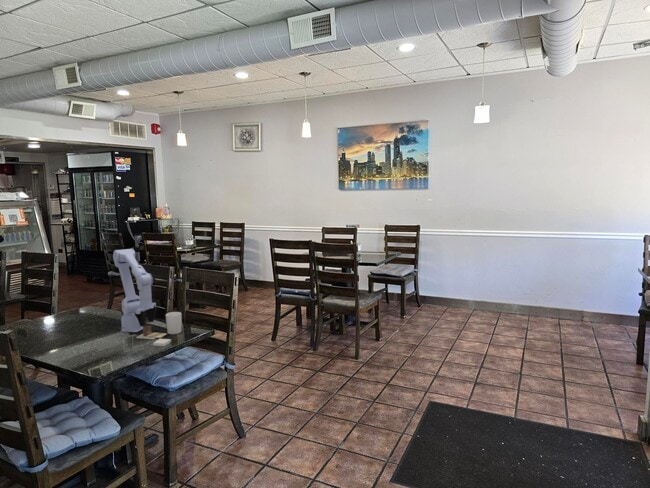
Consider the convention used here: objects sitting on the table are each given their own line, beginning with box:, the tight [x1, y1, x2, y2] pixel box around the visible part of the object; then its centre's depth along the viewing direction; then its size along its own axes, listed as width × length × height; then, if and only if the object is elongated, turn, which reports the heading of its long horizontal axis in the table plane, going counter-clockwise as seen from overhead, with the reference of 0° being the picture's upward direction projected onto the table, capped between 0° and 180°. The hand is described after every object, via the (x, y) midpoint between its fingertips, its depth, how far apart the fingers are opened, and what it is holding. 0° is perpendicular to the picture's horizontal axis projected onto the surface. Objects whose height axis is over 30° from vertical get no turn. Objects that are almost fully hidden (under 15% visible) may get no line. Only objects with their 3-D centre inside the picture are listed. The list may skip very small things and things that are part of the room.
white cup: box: [165, 311, 183, 335], centre depth 225 cm, size 8×8×10 cm
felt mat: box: [135, 333, 156, 340], centre depth 220 cm, size 10×8×1 cm
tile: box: [152, 338, 172, 347], centre depth 209 cm, size 2×6×6 cm
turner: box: [142, 324, 168, 339], centre depth 219 cm, size 11×6×5 cm, turn 79°
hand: (146, 323), depth 219 cm, fingers open, 7 cm apart
